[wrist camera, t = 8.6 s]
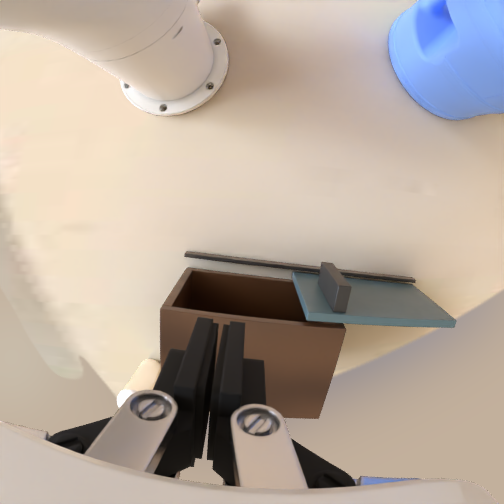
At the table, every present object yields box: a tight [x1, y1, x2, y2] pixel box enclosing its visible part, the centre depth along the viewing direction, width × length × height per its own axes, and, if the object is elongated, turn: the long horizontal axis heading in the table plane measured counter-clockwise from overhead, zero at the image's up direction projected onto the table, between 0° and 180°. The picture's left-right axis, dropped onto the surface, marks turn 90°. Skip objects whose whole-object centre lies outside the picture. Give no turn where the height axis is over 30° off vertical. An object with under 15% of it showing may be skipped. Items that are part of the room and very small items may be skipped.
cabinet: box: [160, 251, 416, 419], centre depth 32 cm, size 12×28×12 cm, turn 83°
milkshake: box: [117, 359, 161, 408], centre depth 35 cm, size 5×5×10 cm
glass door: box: [292, 262, 456, 328], centre depth 31 cm, size 3×16×11 cm, turn 83°
